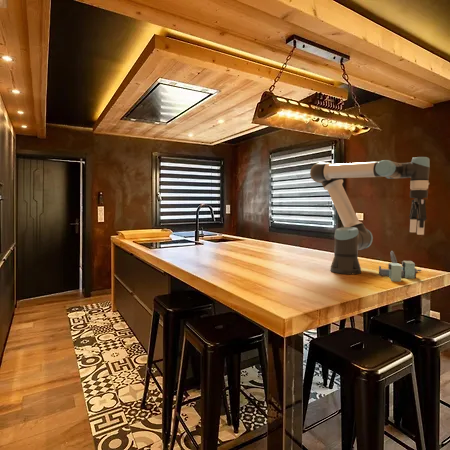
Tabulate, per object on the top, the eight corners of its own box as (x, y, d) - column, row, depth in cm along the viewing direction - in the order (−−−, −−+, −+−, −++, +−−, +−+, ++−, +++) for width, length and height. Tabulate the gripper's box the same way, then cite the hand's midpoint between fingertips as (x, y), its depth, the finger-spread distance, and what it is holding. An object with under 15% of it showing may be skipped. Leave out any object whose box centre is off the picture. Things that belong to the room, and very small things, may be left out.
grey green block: (398, 278, 155) (398, 263, 154) (401, 281, 147) (401, 265, 147) (387, 277, 156) (387, 262, 156) (389, 280, 149) (389, 265, 149)
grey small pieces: (389, 249, 178) (419, 250, 174) (388, 269, 179) (418, 270, 175) (393, 252, 168) (425, 253, 165) (393, 272, 169) (425, 274, 165)
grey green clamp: (379, 276, 159) (380, 261, 159) (378, 273, 166) (378, 259, 166) (416, 278, 153) (417, 263, 153) (413, 275, 161) (414, 261, 160)
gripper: (436, 188, 142) (433, 236, 144) (420, 190, 166) (418, 231, 167) (417, 188, 144) (414, 235, 146) (404, 190, 168) (402, 231, 170)
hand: (416, 233), depth 157 cm, fingers open, 13 cm apart
